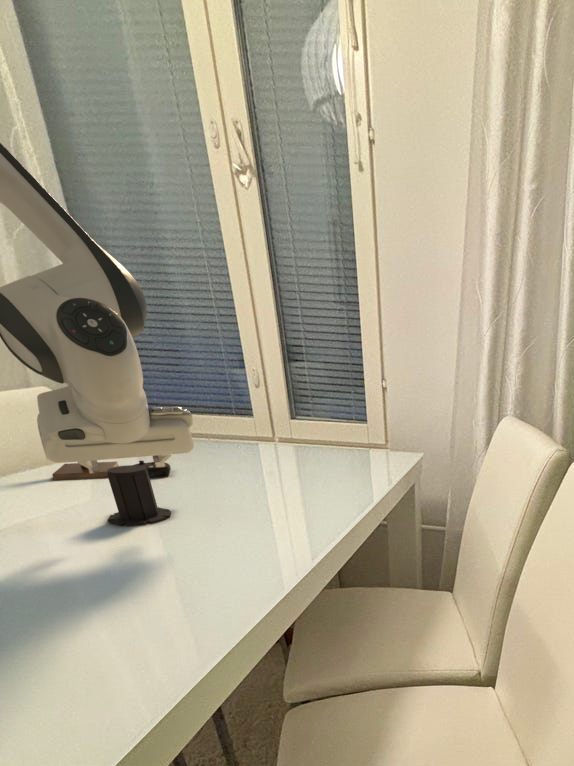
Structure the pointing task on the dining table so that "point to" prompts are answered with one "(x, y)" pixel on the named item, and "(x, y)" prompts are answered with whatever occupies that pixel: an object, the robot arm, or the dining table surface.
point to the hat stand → (82, 471)
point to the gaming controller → (156, 468)
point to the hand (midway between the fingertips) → (127, 466)
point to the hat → (134, 497)
